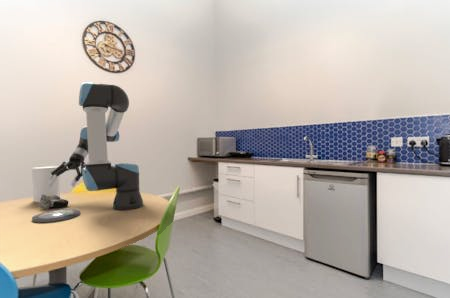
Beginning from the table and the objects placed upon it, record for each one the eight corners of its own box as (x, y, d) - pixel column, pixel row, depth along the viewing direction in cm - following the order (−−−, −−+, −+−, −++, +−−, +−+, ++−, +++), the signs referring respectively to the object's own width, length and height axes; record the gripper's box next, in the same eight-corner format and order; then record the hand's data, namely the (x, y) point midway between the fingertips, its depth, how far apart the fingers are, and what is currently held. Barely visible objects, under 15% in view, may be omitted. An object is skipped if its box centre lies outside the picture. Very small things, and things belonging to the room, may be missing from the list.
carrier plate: (88, 211, 130) (88, 208, 130) (60, 223, 111) (60, 220, 111) (54, 210, 132) (54, 208, 132) (20, 222, 114) (20, 219, 114)
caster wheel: (70, 210, 143) (53, 212, 133) (54, 204, 146) (37, 206, 136) (73, 198, 143) (57, 199, 134) (57, 193, 146) (41, 194, 137)
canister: (65, 197, 164) (64, 166, 164) (46, 202, 151) (44, 168, 150) (48, 196, 167) (46, 166, 167) (27, 201, 154) (26, 168, 154)
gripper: (100, 160, 161) (85, 189, 147) (63, 160, 164) (45, 188, 150) (94, 152, 155) (78, 181, 141) (56, 152, 158) (37, 181, 144)
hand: (61, 185), depth 145 cm, fingers open, 13 cm apart
